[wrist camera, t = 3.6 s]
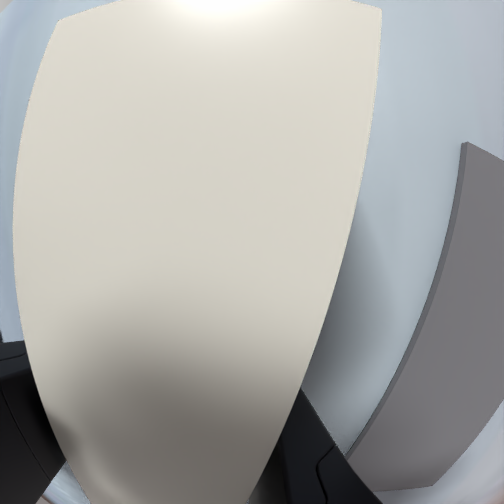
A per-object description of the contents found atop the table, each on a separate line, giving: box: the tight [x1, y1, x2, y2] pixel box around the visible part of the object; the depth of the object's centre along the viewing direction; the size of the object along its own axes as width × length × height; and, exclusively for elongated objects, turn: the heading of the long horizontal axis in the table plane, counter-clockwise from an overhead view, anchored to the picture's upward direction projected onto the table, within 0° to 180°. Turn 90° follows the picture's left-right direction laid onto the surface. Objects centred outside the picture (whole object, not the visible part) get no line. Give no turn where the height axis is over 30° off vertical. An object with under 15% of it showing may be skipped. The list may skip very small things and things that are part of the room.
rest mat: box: [345, 142, 504, 491], centre depth 8 cm, size 7×16×1 cm, turn 169°
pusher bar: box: [13, 0, 382, 504], centre depth 6 cm, size 4×14×6 cm, turn 168°
